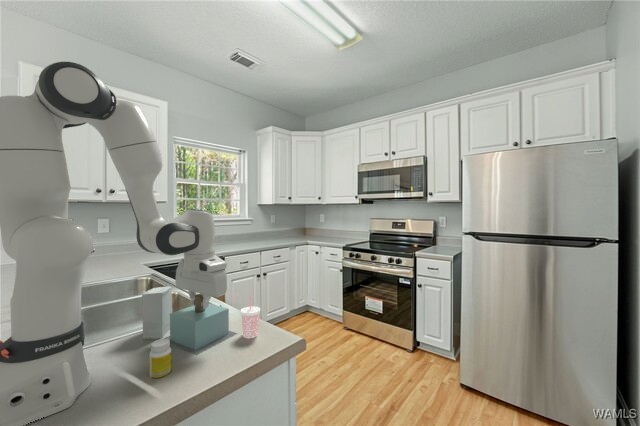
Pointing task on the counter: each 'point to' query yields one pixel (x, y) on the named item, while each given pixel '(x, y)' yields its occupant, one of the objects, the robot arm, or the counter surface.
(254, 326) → the beverage cup
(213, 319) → the cover
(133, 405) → the counter surface
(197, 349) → the mat
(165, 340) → the supplement bottle
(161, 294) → the skincare box
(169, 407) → the counter surface
